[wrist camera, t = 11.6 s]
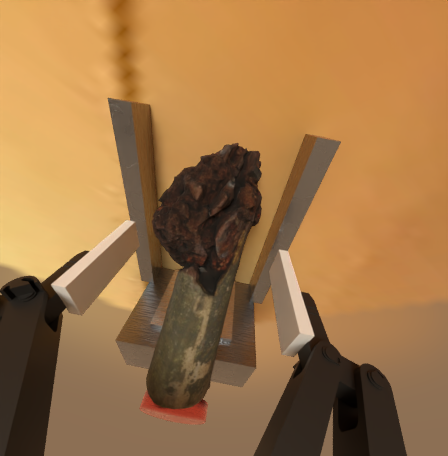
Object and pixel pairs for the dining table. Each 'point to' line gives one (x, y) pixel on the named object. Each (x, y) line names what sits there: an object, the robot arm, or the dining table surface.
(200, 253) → the morel mushroom
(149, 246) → the cradle
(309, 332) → the robot arm
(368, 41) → the dining table surface
